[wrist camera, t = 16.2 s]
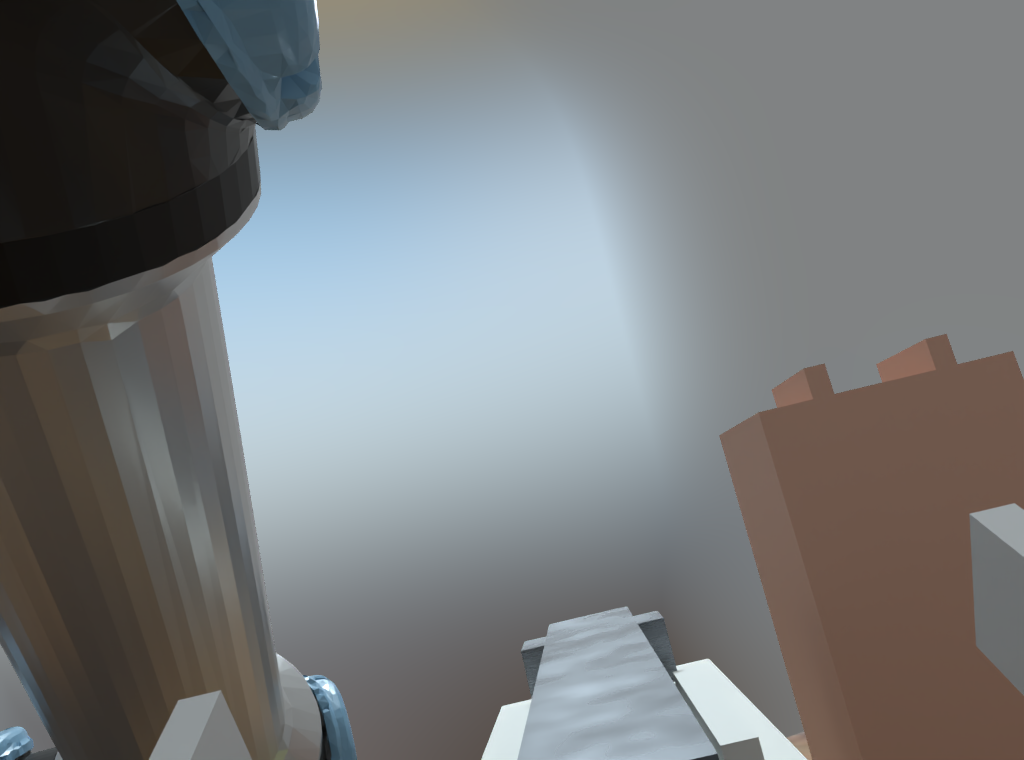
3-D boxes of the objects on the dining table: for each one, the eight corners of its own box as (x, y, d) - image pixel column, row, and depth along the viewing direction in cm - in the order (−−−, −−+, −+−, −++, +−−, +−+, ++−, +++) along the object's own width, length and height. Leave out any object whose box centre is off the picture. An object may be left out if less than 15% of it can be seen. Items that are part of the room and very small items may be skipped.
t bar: (479, 1057, 12) (433, 817, 13) (540, 711, 34) (522, 630, 35) (861, 974, 12) (793, 735, 13) (675, 680, 34) (654, 599, 34)
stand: (977, 1145, 31) (749, 381, 37) (879, 993, 40) (712, 411, 46) (1283, 1081, 30) (1001, 320, 36) (1109, 944, 40) (910, 363, 46)
